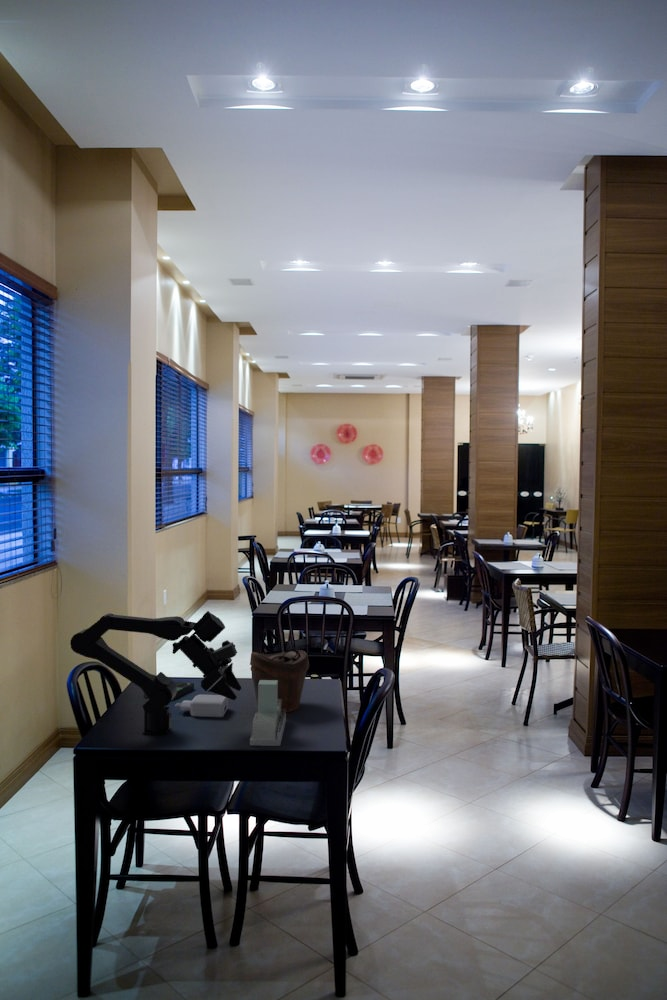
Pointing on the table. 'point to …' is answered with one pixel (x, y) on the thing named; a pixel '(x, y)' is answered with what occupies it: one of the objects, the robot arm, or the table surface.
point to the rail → (279, 734)
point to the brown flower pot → (282, 674)
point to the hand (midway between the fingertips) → (238, 694)
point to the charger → (206, 706)
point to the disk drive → (181, 688)
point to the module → (267, 696)
